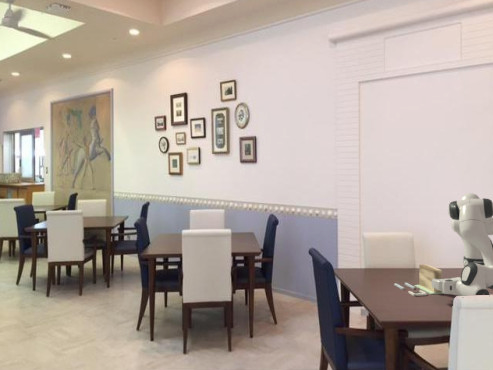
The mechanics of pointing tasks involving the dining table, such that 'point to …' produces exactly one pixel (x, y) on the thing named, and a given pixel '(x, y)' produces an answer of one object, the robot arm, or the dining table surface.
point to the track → (403, 287)
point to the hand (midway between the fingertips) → (442, 279)
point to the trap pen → (418, 293)
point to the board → (429, 276)
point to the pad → (427, 290)
